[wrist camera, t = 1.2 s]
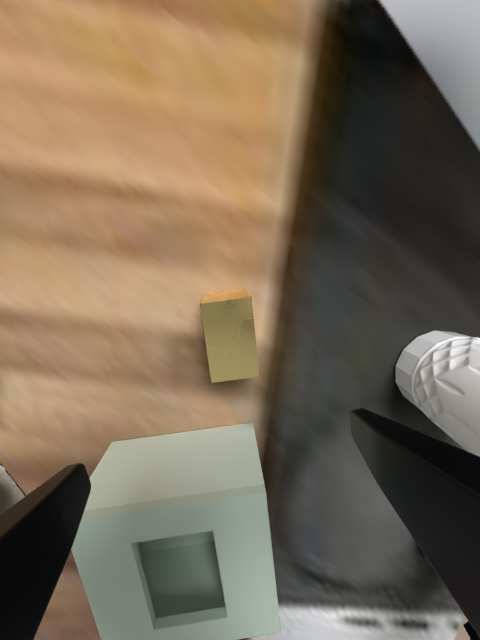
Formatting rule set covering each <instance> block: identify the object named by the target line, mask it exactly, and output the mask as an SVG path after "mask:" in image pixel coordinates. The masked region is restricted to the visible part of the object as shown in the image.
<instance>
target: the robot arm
mask: <svg viewBox="0 0 480 640" xmlns="http://www.w3.org/2000/svg"><path fill="white" fill-rule="evenodd" d="M350 420H351V432H352V436H353V439H354V441H355V442H356V444H357V446H358V448H359V450H360V452H361V454H362V456H363V457H364V459H365V461H366V463H367V465H368V467H369V469H370V471H371V473H372V474H373V476H374V478H375V480H376V482H377V483H378V485H379V486H380V488H381V490H382V491H383V493H384V494H385V496H386V497H387V499H388V500H389V502H390V503H391V505H392V506H393V508H394V509H395V511H396V512H397V514H398V515H399V517H400V518H401V520H402V521H403V523H404V524H405V526H406V527H407V529H408V530H409V532H410V533H411V535H412V536H413V538H414V539H415V541H416V542H417V544H418V545H419V547H420V548H421V550H422V553H421V555H422V557H423V558H424V560H425V561H427V562H430V563H431V565H432V566H433V568H434V569H435V571H436V572H437V574H438V576H439V577H440V579H441V580H442V582H443V583H444V585H445V586H446V588H447V589H448V591H449V592H450V594H451V595H452V597H453V598H454V600H455V601H456V603H457V604H458V606H459V607H460V609H461V610H462V612H463V613H464V615H465V616H466V618H467V619H468V622H467V623H466V624H464V627H465V629H466V631H467V633H468V635H469V636H470V640H480V457H479V456H477V455H475V454H472V453H470V452H467V451H465V450H462V449H460V448H458V447H455V446H453V445H450V444H448V443H446V442H443V441H441V440H438V439H436V438H433V437H431V436H429V435H426V434H424V433H421V432H419V431H417V430H414V429H412V428H409V427H407V426H404V425H402V424H400V423H397V422H395V421H392V420H390V419H387V418H385V417H383V416H380V415H378V414H375V413H373V412H371V411H368V410H366V409H363V408H361V409H356V410H352V411H351V412H350ZM90 491H91V482H90V479H89V476H88V474H87V471H86V468H85V466H84V464H82V463H78V464H72V465H69V466H67V467H65V468H64V469H63V470H61V471H60V472H59V473H57V474H56V475H54V476H53V477H52V478H50V479H49V480H47V481H46V482H45V483H43V484H42V485H41V486H39V487H38V488H36V489H35V490H34V491H32V492H31V493H30V494H28V495H27V496H25V497H24V498H23V499H21V500H20V501H19V502H17V503H16V504H14V505H13V506H12V507H10V508H9V509H7V510H6V511H5V512H3V513H2V514H1V515H0V640H33V639H34V637H35V635H36V632H37V630H38V627H39V625H40V623H41V620H42V618H43V615H44V613H45V611H46V608H47V606H48V604H49V601H50V599H51V596H52V594H53V592H54V589H55V587H56V584H57V582H58V580H59V577H60V575H61V573H62V570H63V568H64V565H65V563H66V561H67V558H68V556H69V553H70V551H71V548H72V546H73V543H74V540H75V537H76V535H77V532H78V528H79V525H80V522H81V519H82V516H83V513H84V510H85V507H86V504H87V501H88V498H89V495H90Z"/></svg>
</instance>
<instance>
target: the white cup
mask: <svg viewBox="0 0 480 640" xmlns="http://www.w3.org/2000/svg"><path fill="white" fill-rule="evenodd" d="M395 382H396V384H397V386H398V388H399V389H400V391H401V393H402V395H403V396H404V397H405V398H406V399H408V400H409V401H410V402H411V403H413V404H414V405H415V406H416V407H417V408H419V409H420V410H421V411H422V412H423V413H424V414H425V415H426V416H427V417H428V418H429V419H430V420H431V421H432V422H433V423H434V424H435V425H437V426H438V427H439V428H440V429H442V430H443V431H444V432H445V433H446V434H447V435H448V436H449V437H450V438H451V439H453V440H454V441H455V442H456V443H457V444H458V445H459V446H461V447H462V448H463V449H464V450H465V451H467V452H470V453H472V454H475V455H477V456H479V457H480V338H476V337H469V336H465V335H462V334H458V333H454V332H446V331H432V332H429V333H426V334H424V335H421V336H418V337H416V338H415V339H414V340H413V341H412V342H411V343H410V344H409V345H407V346H406V347H405V348H404V349H403V351H402V353H401V355H400V357H399V359H398V361H397V363H396V366H395Z"/></svg>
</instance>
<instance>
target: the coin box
mask: <svg viewBox="0 0 480 640" xmlns="http://www.w3.org/2000/svg"><path fill="white" fill-rule="evenodd" d="M90 482H91V491H90V495H89V498H88V501H87V504H86V507H85V510H84V513H83V516H82V519H81V522H80V525H79V528H78V532H77V535H76V537H75V540H74V543H73V546H72V548H71V550H72V553H73V556H74V559H75V562H76V565H77V568H78V571H79V574H80V577H81V580H82V583H83V586H84V589H85V592H86V595H87V598H88V601H89V604H90V607H91V610H92V613H93V617H94V620H95V623H96V626H97V629H98V632H99V635H100V638H101V640H238V639H244V638H250V637H255V636H261V635H267V634H273V633H279V632H281V628H280V619H279V610H278V600H277V591H276V582H275V572H274V563H273V553H272V544H271V535H270V525H269V516H268V507H267V497H266V490H265V484H264V479H263V474H262V469H261V463H260V458H259V453H258V447H257V442H256V437H255V431H254V426H253V422H252V423H245V424H238V425H230V426H223V427H216V428H209V429H201V430H194V431H187V432H180V433H173V434H165V435H158V436H151V437H144V438H136V439H129V440H122V441H115V442H112V443H111V444H110V446H109V448H108V449H107V451H106V452H105V454H104V456H103V457H102V459H101V461H100V462H99V464H98V465H97V467H96V469H95V470H94V472H93V474H92V475H91V477H90Z"/></svg>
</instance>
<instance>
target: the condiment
mask: <svg viewBox="0 0 480 640" xmlns="http://www.w3.org/2000/svg"><path fill="white" fill-rule="evenodd" d="M24 497H25V496H24V494H23V493H22V492H21V490H20V489H19V488H18V487H17V485H16V483H15V482H14V481H13V480H12V478H11V477H10V476H9V475H8V474H7V472H6V471H5V468H4V467H2V466H1V465H0V515H1V514H2V513H3V512H5V511H6V510H7V509H9V508H10V507H12V506H13V505H14V504H16V503H17V502H19V501H20V500H21V499H23V498H24Z"/></svg>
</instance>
